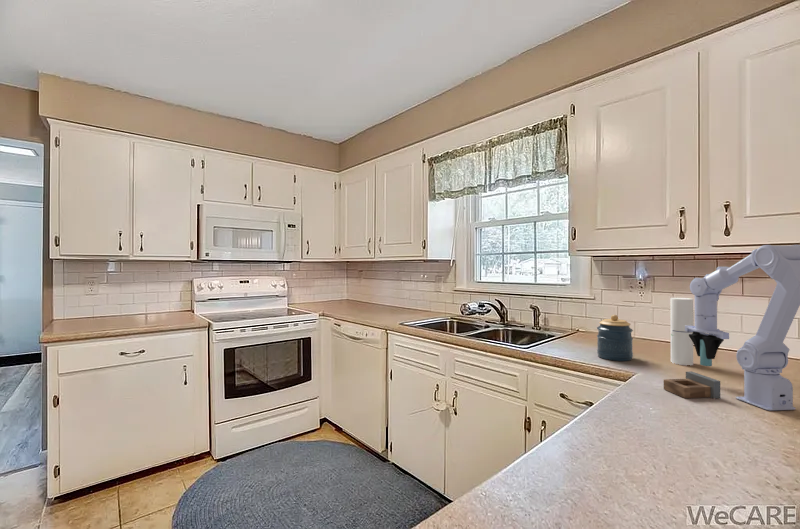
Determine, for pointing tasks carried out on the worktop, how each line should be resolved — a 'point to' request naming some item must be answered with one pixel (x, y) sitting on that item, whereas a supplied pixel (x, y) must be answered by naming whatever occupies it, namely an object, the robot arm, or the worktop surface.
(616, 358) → the canister
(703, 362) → the dowel
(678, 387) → the brown square frame
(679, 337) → the cylindrical container
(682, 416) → the worktop surface
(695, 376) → the board
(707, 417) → the worktop surface
